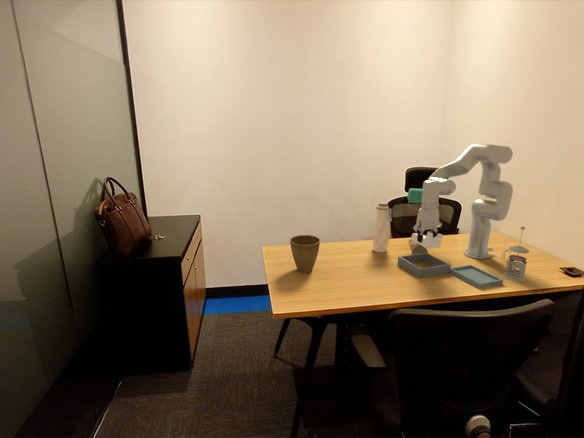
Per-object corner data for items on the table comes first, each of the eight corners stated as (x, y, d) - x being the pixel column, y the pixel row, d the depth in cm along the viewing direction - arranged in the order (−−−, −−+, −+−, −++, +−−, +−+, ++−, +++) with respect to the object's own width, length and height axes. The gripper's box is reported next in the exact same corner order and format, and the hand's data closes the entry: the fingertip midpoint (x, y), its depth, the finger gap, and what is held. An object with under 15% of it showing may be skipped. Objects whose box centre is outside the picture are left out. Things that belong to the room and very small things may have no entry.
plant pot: (288, 264, 179) (288, 235, 175) (317, 263, 181) (317, 234, 176) (291, 276, 165) (291, 245, 161) (321, 275, 166) (322, 244, 162)
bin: (425, 260, 185) (426, 252, 183) (449, 273, 168) (450, 264, 167) (397, 264, 179) (398, 256, 178) (419, 278, 163) (420, 269, 162)
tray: (470, 268, 174) (470, 264, 173) (502, 284, 157) (503, 279, 156) (448, 272, 170) (449, 268, 169) (479, 288, 152) (480, 283, 152)
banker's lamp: (405, 252, 196) (410, 192, 187) (402, 241, 215) (407, 186, 206) (434, 254, 193) (441, 193, 183) (428, 243, 212) (434, 186, 203)
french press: (518, 282, 158) (528, 230, 152) (494, 273, 168) (502, 224, 162) (530, 278, 162) (540, 227, 156) (506, 269, 172) (514, 221, 166)
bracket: (438, 250, 166) (443, 235, 164) (426, 248, 164) (431, 233, 162) (422, 241, 178) (426, 227, 176) (410, 239, 176) (415, 225, 174)
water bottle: (392, 249, 201) (396, 202, 193) (387, 254, 193) (391, 205, 186) (375, 246, 206) (378, 200, 199) (370, 250, 199) (372, 203, 191)
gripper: (438, 202, 171) (435, 236, 176) (409, 206, 166) (406, 240, 171) (449, 206, 165) (446, 241, 169) (419, 209, 159) (416, 245, 164)
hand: (426, 240), depth 170 cm, fingers closed on bracket, 7 cm apart
